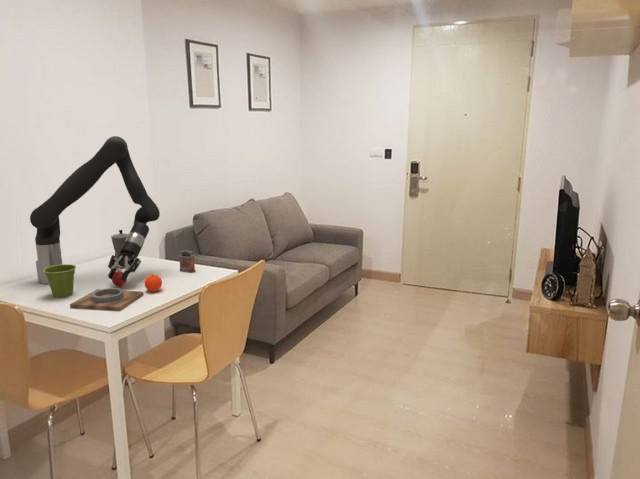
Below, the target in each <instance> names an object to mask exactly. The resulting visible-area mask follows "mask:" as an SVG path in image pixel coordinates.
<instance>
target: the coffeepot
mask: <svg viewBox="0 0 640 479" xmlns="http://www.w3.org/2000/svg"><path fill="white" fill-rule="evenodd" d="M128 235H129V233H123V230H122V229H119V230H118V233H117V234H112V235H111V236H110V237H111V242H112V245H113V249H114V256H118V255H119V254H120V250H121V248H122V246H123V244H124V242H125V240H126V238H127V236H128ZM132 264H133V263H132ZM118 265H120V264H119V263H118ZM116 267H117V266H116ZM116 267H115V268H116ZM119 269H120V270H121V269H122V270H123V269H124V270H125V266H122V267H121V268H119Z"/></svg>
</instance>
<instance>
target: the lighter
mask: <svg viewBox="0 0 640 479" xmlns="http://www.w3.org/2000/svg"><path fill="white" fill-rule="evenodd" d="M193 254H194V251H190V250H187V249H186V250H181V251H180V254H179V255H178V259H179V272H180V273H187V274H193V273H194V274H195V273H196V267H195V255H193Z"/></svg>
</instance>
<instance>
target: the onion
mask: <svg viewBox="0 0 640 479" xmlns="http://www.w3.org/2000/svg"><path fill="white" fill-rule="evenodd" d="M123 273H124V271H122V270H121V269H118V270H117V271H116V273H115V274H114V275H113V277H112V279H111V281H112V284H113V285H114V286H115V287H117V288H119V289H121V288H122V287H123V286H124V285H125V284H127V282H128V278H127V279H126V280H125V281H123V280H122V279H121V277H122V275H123Z"/></svg>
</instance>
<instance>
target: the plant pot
mask: <svg viewBox="0 0 640 479" xmlns="http://www.w3.org/2000/svg"><path fill="white" fill-rule="evenodd" d="M76 269H77V266H76V265H74V264H72V263H71V264H69V263H67V264H63V263H62V265H55V266H50V267H47V268H45V269H44V270H43V272H44V273H45V275H46V277H47V279H48V282H49V284H48V285H49V288H50V291H51V294H52V297H54V298H58V299H61V298H67V297H69V296H72V295H73V294H74V282H75V280H74V278H75V273H76V272H75V271H76Z"/></svg>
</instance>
